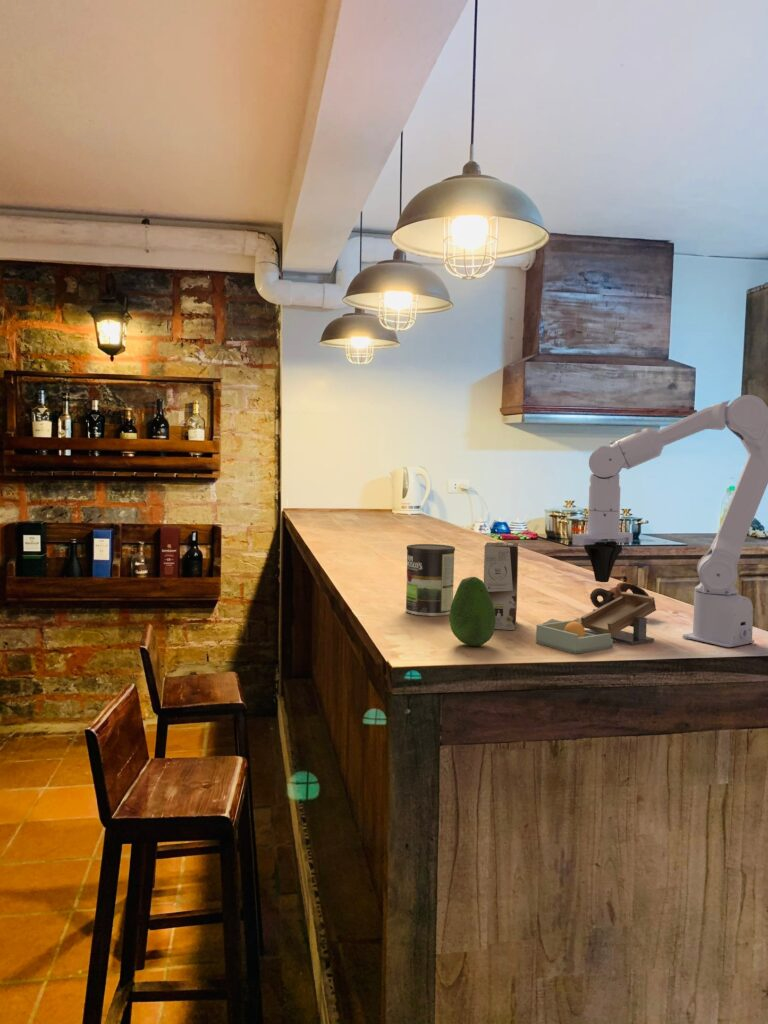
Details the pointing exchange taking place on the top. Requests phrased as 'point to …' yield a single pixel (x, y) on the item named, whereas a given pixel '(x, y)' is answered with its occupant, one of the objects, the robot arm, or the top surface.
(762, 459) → the robot arm
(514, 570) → the coffee box
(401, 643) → the top surface
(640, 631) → the fulcrum
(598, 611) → the lever
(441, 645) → the top surface
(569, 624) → the ball
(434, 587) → the coffee can
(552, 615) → the top surface
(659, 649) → the top surface
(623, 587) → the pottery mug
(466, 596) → the avocado
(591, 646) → the dish
